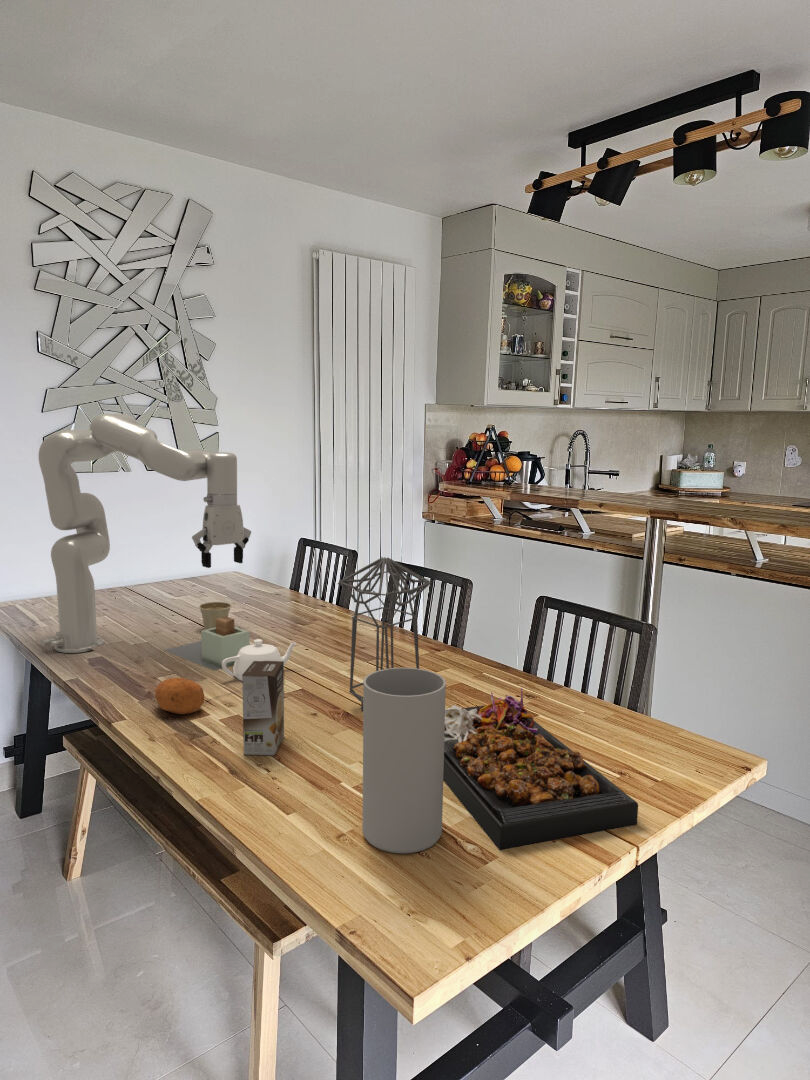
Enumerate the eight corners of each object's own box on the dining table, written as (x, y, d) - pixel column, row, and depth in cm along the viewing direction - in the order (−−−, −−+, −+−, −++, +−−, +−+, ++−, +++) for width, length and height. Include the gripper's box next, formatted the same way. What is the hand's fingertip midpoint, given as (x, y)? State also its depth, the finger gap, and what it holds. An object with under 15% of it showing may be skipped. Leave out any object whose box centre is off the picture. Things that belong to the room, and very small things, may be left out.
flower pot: (236, 629, 226) (235, 602, 225) (225, 638, 217) (225, 610, 215) (206, 628, 227) (205, 600, 226) (194, 637, 218) (193, 608, 216)
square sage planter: (223, 667, 189) (222, 638, 188) (202, 659, 195) (201, 630, 194) (249, 659, 195) (249, 631, 194) (228, 652, 201) (228, 624, 200)
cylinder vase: (349, 845, 113) (349, 689, 109) (380, 806, 124) (382, 663, 120) (426, 863, 109) (430, 701, 104) (451, 821, 120) (456, 674, 116)
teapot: (285, 665, 195) (285, 627, 193) (308, 678, 185) (308, 639, 183) (212, 679, 183) (211, 639, 182) (232, 694, 173) (231, 653, 172)
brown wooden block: (225, 658, 193) (224, 621, 191) (216, 655, 195) (215, 618, 194) (235, 656, 195) (234, 619, 193) (226, 653, 197) (225, 616, 196)
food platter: (404, 734, 154) (405, 687, 153) (510, 721, 162) (512, 676, 160) (499, 854, 112) (502, 790, 111) (636, 828, 120) (641, 768, 118)
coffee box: (275, 756, 142) (274, 676, 140) (242, 755, 142) (241, 675, 140) (285, 736, 151) (284, 660, 149) (253, 735, 152) (252, 659, 149)
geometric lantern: (433, 710, 166) (436, 558, 159) (381, 732, 155) (382, 569, 148) (385, 690, 177) (386, 547, 170) (334, 709, 166) (332, 557, 159)
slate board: (214, 674, 187) (214, 670, 187) (163, 653, 202) (163, 649, 202) (259, 661, 197) (259, 657, 197) (207, 642, 213) (207, 639, 213)
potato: (169, 723, 156) (167, 690, 155) (147, 708, 165) (145, 675, 163) (209, 712, 163) (208, 680, 161) (186, 698, 171) (185, 667, 170)
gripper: (200, 503, 183) (201, 571, 186) (258, 499, 196) (258, 563, 199) (184, 500, 188) (185, 566, 191) (241, 497, 201) (241, 558, 204)
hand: (222, 564), depth 195 cm, fingers open, 9 cm apart
